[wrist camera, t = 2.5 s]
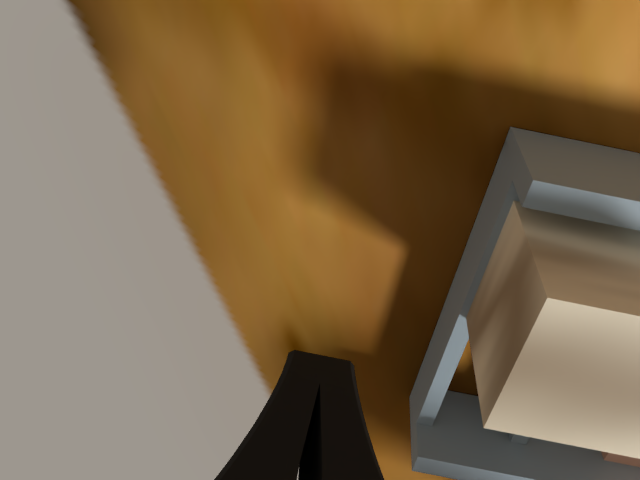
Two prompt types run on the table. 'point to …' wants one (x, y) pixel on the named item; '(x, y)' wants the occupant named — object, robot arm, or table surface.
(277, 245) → the table surface
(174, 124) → the table surface
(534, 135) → the trap box
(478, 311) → the beech block
